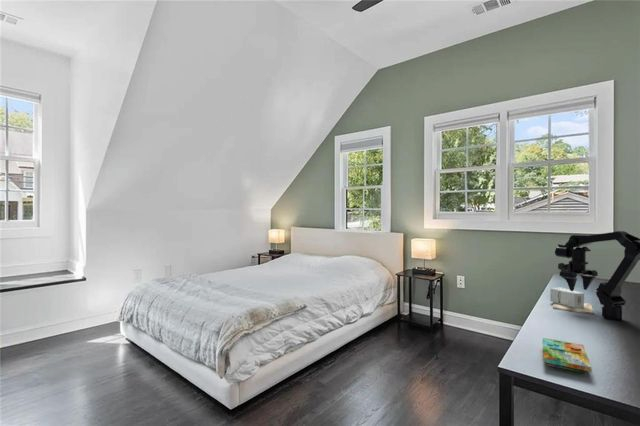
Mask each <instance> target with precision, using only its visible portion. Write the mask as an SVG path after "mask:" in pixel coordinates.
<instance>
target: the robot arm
mask: <svg viewBox="0 0 640 426" xmlns="http://www.w3.org/2000/svg"><path fill="white" fill-rule="evenodd" d="M610 241H617V242H618V243H619V244H620V245H621V246H622V247H623V248H624V254H623V255H624V256H623V258H622V260H621V261H620V263H619V264H618V266H617V268H616V269H615V271H614V272H613V273H612V275H611V277H610V279H609V280H608V281H607V282H600V283H599V284H598V286H597V288H596V289H595V291H596V292H595V294H596V297H597V298H598V301H599V304H600V305H601V316H602V317H603V319H604V320H605V319H606V320H611V321H612V320H613V321H619V322H623V321H624V319H623V306H625V305H626V303H627V301H626V300H625V299H624V298H623V297H622V294H621V293H622V285H624V283H625V282H626V280H627V278H628V277H629V275H630V274H631V273H632V272H633V270H634V269H635V267H636V265H637V264H638V262H640V238H639V237H638V236H635V235H632V234H630V233H629V232H626V231H625V230H616V231H611V232H605V233H603V232H602V233H598V234H597V233H596V234H572V235H570V237H569V238H568V241H567V242H566V243H565V244H557V247H555V250H554V254H555V256H556V257H557V258H564V259H570V260H569V261H568V263H566V264H565V263H563V262H560V263H558V265H557V269H558V270H560V271H559V277H561V278H562V279H563V280H565V281H566V283H567V286H568V288H569V290H570V291H575V287H576V283H577V280H578V278H577V276H580V277H581V279H582V286H583V287H582V288H583V290H584V291H587V290H588V288H589V287H590V285H591V284H592V282H593V281H594V280H595V279H596V277H598V274H599V273H598V271H597V270H595V269H589V268H587V265H588V264H589V261H587V257H586V256H587V254H586V252H588V253H589V252H591V251H592V250H591V249H590V248H589V247H588V245H591V244H595V243H601V242H603V243H604V242H610Z"/></svg>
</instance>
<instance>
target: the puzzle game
mask: <svg viewBox="0 0 640 426" xmlns="http://www.w3.org/2000/svg"><path fill="white" fill-rule="evenodd" d="M542 361H543V363H545V364H546V365H547V366H550V367H554V368H557V369H558V368H559V369H563V370H568V371H574V372H577V373H581V374H585V373H587V372H590V373H591V372H592V365H591V362H590V359H589V357H588V355H587V351H586V348H585V345H584V344H580V343H576V342H575V343H574V342H568V341H565V340H559V339H551V338H545V337H542Z"/></svg>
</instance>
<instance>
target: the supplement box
mask: <svg viewBox="0 0 640 426" xmlns="http://www.w3.org/2000/svg"><path fill="white" fill-rule="evenodd" d="M549 293H550V298H549V299H550V301H549V302H552V303H553V302H555V303H558V304H562V305H566V306H569V307H572V308H577V307H584V303H585V293H584V292H581V291H577V290H573V291H570V288H569V289H567V288H564V287H561V286H560V287H550V292H549Z"/></svg>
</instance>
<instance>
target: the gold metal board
mask: <svg viewBox="0 0 640 426" xmlns="http://www.w3.org/2000/svg"><path fill="white" fill-rule="evenodd" d="M552 309H554V310H561V311H566V312H567V311H568V312H575V313H583V314H589V315H595V314H594V310H593V306H592V303H586V302H584V307H577V308H572V307H569V306H566V305H562V304H558V303H555V302H552Z"/></svg>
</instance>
